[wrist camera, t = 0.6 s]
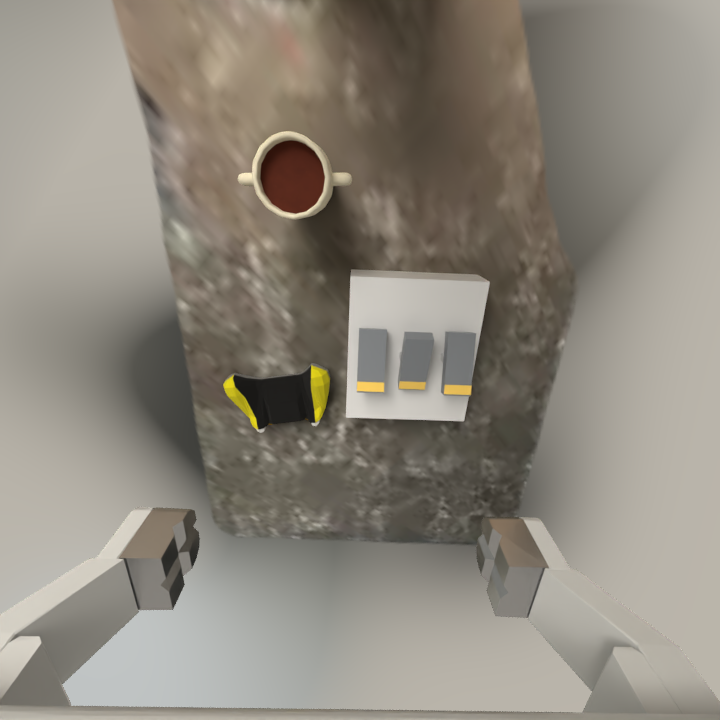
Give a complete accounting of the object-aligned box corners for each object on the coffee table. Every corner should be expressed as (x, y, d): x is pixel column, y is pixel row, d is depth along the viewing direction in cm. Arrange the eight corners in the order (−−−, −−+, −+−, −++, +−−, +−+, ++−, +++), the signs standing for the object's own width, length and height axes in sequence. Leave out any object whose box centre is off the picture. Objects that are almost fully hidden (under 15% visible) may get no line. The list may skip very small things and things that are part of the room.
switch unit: (351, 269, 48) (350, 278, 42) (477, 274, 49) (493, 284, 43) (346, 401, 56) (345, 424, 51) (455, 404, 57) (466, 427, 51)
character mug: (352, 150, 43) (351, 130, 31) (353, 215, 46) (352, 219, 34) (260, 150, 43) (223, 130, 31) (267, 215, 46) (235, 220, 34)
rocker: (404, 331, 44) (405, 339, 43) (432, 332, 44) (434, 340, 43) (397, 381, 49) (398, 389, 47) (422, 382, 49) (424, 390, 48)
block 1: (359, 327, 46) (359, 328, 44) (385, 328, 46) (387, 330, 44) (356, 389, 47) (356, 392, 45) (382, 390, 47) (383, 393, 45)
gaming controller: (229, 364, 54) (246, 420, 58) (215, 380, 49) (235, 441, 53) (328, 351, 53) (339, 409, 57) (325, 367, 48) (337, 429, 52)
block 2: (445, 331, 46) (448, 332, 44) (472, 332, 46) (476, 333, 44) (440, 392, 47) (443, 395, 46) (466, 393, 47) (470, 396, 46)
